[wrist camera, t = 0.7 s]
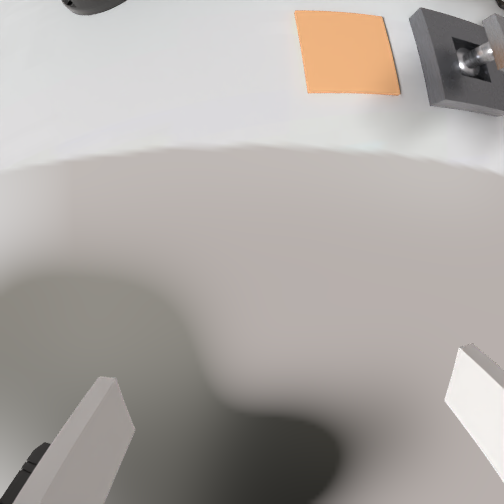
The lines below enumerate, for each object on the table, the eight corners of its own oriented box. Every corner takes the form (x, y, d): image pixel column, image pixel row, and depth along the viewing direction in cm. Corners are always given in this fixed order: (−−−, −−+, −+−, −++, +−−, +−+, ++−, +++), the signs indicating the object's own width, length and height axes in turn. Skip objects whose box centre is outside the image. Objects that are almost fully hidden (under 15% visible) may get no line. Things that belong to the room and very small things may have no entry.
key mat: (294, 13, 30) (295, 10, 30) (379, 19, 30) (381, 16, 29) (307, 93, 33) (309, 91, 32) (397, 95, 33) (400, 94, 32)
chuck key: (441, 43, 30) (491, 11, 18) (462, 49, 30) (513, 22, 17) (451, 86, 32) (509, 62, 19) (472, 90, 32) (529, 71, 19)
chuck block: (408, 18, 30) (420, 7, 26) (477, 37, 29) (491, 30, 25) (430, 105, 33) (445, 99, 29) (497, 116, 32) (513, 113, 28)
